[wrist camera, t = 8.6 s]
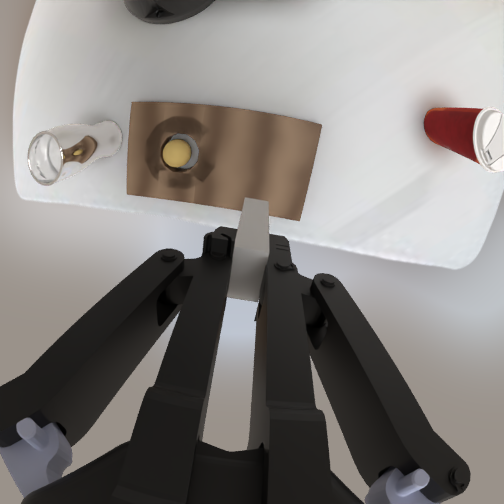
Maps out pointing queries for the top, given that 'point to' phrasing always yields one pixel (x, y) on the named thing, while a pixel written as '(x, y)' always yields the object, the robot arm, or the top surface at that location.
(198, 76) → the top surface
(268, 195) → the board
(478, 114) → the coffee cup
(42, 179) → the beer glass
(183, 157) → the ball
